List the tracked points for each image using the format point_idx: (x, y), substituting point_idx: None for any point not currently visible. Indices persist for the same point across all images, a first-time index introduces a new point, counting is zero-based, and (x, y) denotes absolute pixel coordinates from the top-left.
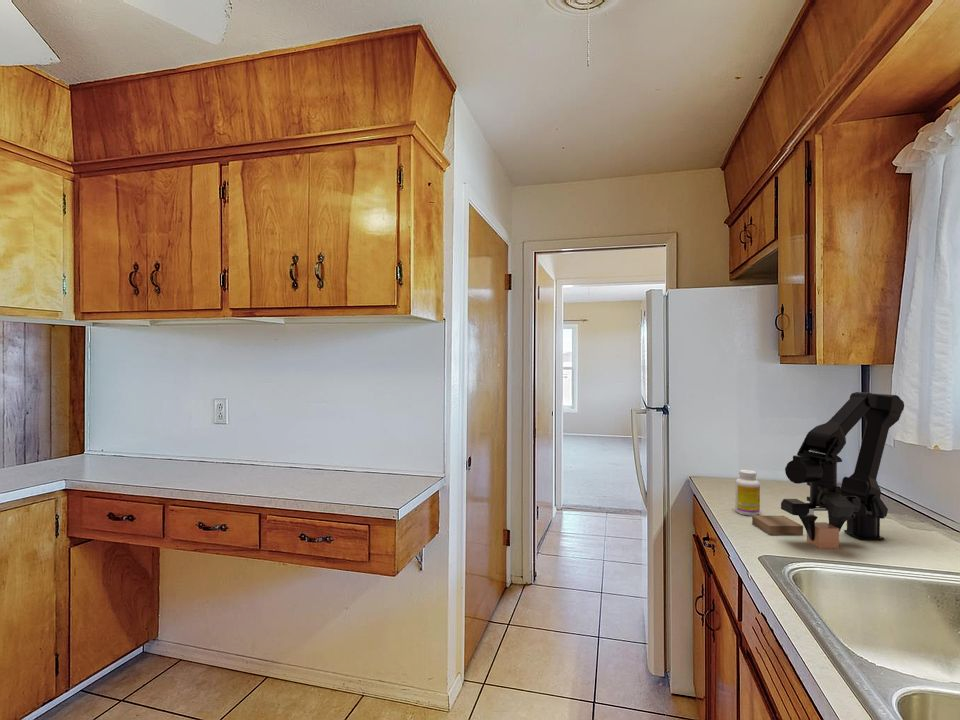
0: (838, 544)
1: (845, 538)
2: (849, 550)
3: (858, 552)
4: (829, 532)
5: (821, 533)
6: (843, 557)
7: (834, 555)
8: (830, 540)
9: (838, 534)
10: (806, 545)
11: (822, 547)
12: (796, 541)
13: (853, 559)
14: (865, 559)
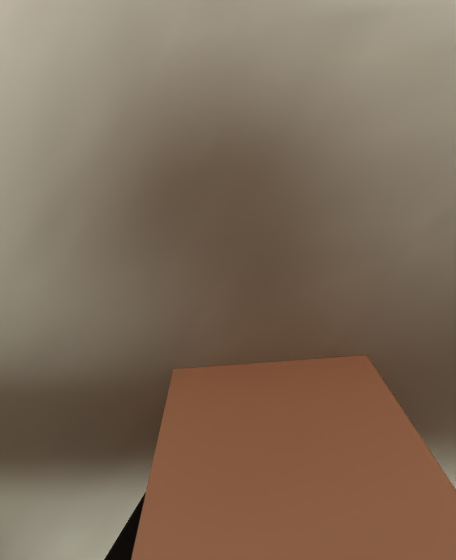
0: (172, 394)
1: (19, 540)
2: (100, 321)
3: (30, 277)
4: (297, 534)
5: (426, 506)
6: (290, 92)
7: (358, 156)
8: (264, 423)
9: (153, 506)
10: (438, 399)
11: (335, 360)
12: (450, 466)
13: (199, 20)
14: (33, 38)
